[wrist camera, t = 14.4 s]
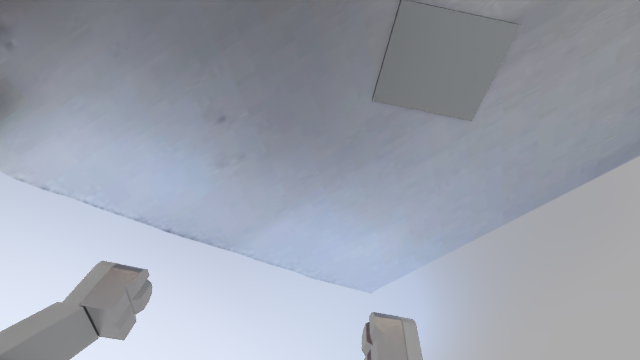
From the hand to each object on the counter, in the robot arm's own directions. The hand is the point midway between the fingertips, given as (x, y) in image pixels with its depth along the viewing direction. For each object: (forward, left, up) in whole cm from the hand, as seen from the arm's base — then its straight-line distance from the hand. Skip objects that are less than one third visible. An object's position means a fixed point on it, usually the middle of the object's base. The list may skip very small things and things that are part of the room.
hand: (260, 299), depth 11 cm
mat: (+14, +3, -34) cm, 37 cm away
